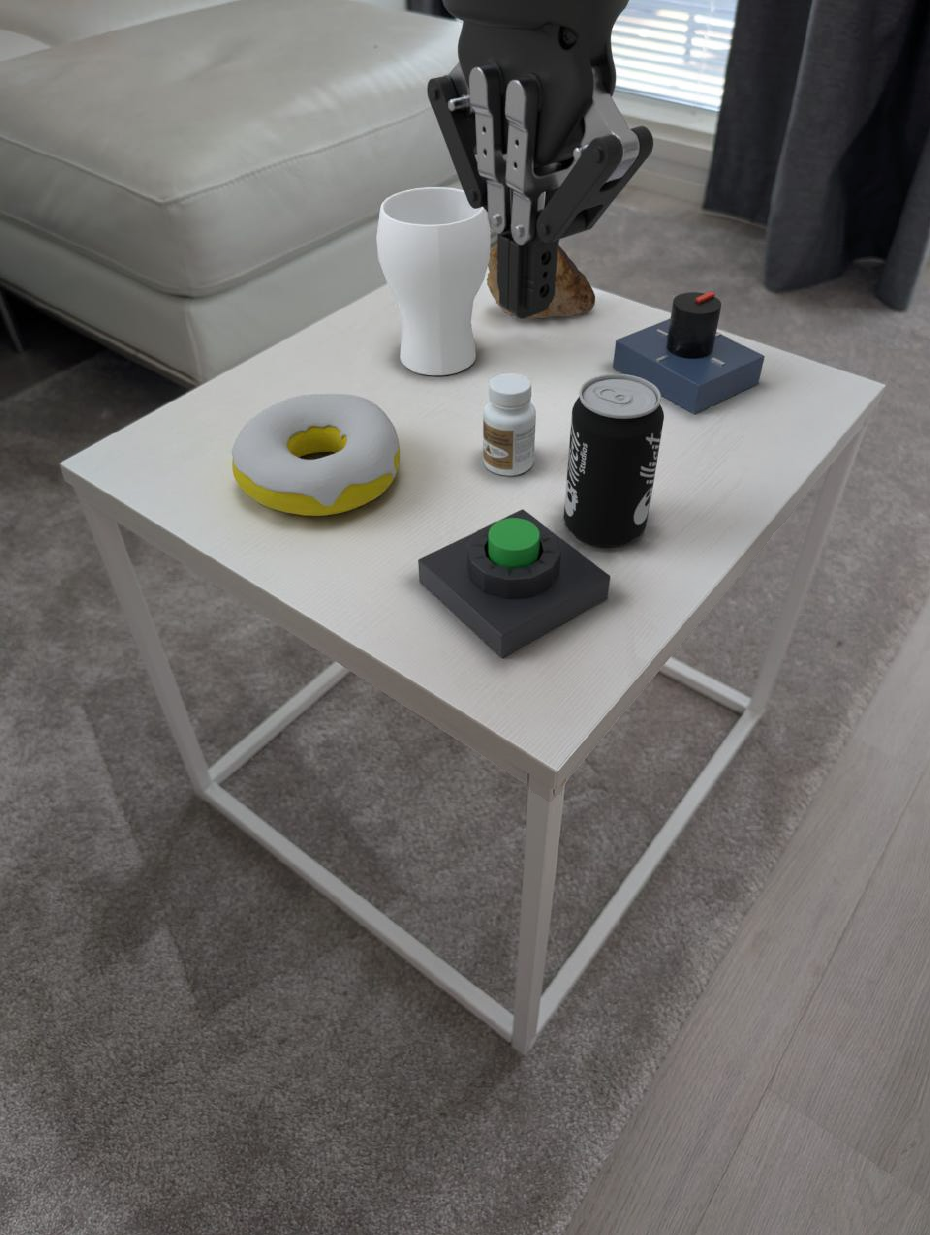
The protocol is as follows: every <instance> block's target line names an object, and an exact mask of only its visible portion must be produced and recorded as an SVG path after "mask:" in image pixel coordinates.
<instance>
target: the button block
mask: <svg viewBox="0 0 930 1235" xmlns="http://www.w3.org/2000/svg"><path fill="white" fill-rule="evenodd" d="M509 518H518V519H524V520H527V521H529V522H531V523H533V524H534V525H535V526H536V527H537V528H538V530H539V532H540V542H539V555H538V558H537V560H536V561H535V562H534V563H533V564H531V565H529V566H527V567H522V568H511V569H510V568H507V567H503V566H499V565H497V564H495V563H494V562H493V561H492V560H491V558H490V557H489V552H488V550H489V530H490V528H491V527H492V526H493V525H494V524H495V523H497V522H498V521H501V520H504V519H509ZM417 566H418V580H419V583H420V584H421V585H423V587H425V588H426V590H428V591H429V592H430V593H431V594H432V595H434V597H435V598H436V599H438V601H440V603H442V604H443V605H444V606H445V607H446V608H447V609H448V610H449V611H451V613H452V614H453V615H454V616H456V618H458V619H459V620H460V621H461V622H462V623H463V624H464V625H465V626H467V627H468V628H469V629H470V630H471V631H472V633H474V634H475V635H476V636H477V637H478V638H479V639H480V640H481V641H482V642H483V643H485V644H486V645H487V647H489V648H490V649H491V650H492V651H493V652H494V653H495V654H496V655H497V656H498V657H500V658H504V657H506V656H508V655H509V654H511V653H514V652H515V651H517V650H519V649H520V648H522V647H524V646H526V645H527V644H529V643H531V642H533V641H535V640H536V639H538V638H540V637H542V636H543V635H545V634H547V633H549V632H550V631H552V630H554V629H556V628H557V627H559V626H561V625H563V624H564V623H567V622H568V621H569V620H572V619H573V618H575V617H577V616H579V615H581V614H583V613H584V612H586V611H588V610H589V609H591V608H593V607H594V606H596V605H598V604H600V603H602V602H603V601H605V600H607V599H608V598H609V593H610V592H609V591H610V584H611V575H610V574H608V573H607V572H606V571H604V570H603V569H602V568H600V567H599V566H598V565H597V564H595V563H594V562H592V561H591V560H590V559H589V558H587V557H586V556H585V555H584V554H582V553H581V552H579V551H578V550H577V549H576V548H575V547H573V546H572V545H571V544H569V543H568V542H566V541H565V540H564V539H563V538H561V537H560V536H559V535H558V534H556V533H555V532H554V531H552V530H551V529H550V528H548V527H547V526H546V525H544V523H542V522H540V521H539V520H538V519H537V518H535V517H534V516H533V515H531V514H530V513H529V512H527V511H526V510H525V509H523V508H522V509H520V510H518V511H516V512H514V513H512V514H509V515H508V516H505V517H504V518H501V519H499V520H497V521H494V522H491V523H489V524H488V525H486V526H484V527H482V528H480V529H478V530H476V531H474V532H472V533H470V534H468V535H466V536H464V537H462V538H460V539H458V540H456V541H453V542H452V543H450V544H447V545H445V546H443V547H441V548H439V549H436V550H435V551H433V552H430V553H428V554H427V555H425V556H422V557H421V558H419V559H418V560H417Z"/></svg>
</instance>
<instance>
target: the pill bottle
mask: <svg viewBox="0 0 930 1235" xmlns="http://www.w3.org/2000/svg"><path fill="white" fill-rule="evenodd" d="M488 397H489V398H488V399H489V401H487V403H486V404H485V406H484V408H483V413H482V418H483V419H482V424H483V425H482V427H483V428H482V443H483V444H482V446H483V449H482V450H483V451H482V453H483V454H482V455H483V458H482V459H483V464H484V466H485V468H487V469H488V470H489V471H490V472H493V473H495V474H497V475H501V476H511V477H512V476H517V475H521V474H523V473H525V472H527V471H528V470H530V469H531V468H532V467H533V464H534V462H535V461H534V460H535V445H536V444H535V443H536V421H537V410H536V407H535V405H534V404H533V403H532V402H531V399H532V382H531V379H529V378H528V377H527V376H525V375H523V374H520V373H513V372H506V373H501V374H498V375H495V376H493V377H492V378H491V379H490V380H489V383H488Z"/></svg>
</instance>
